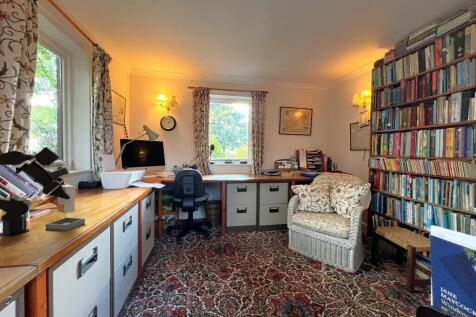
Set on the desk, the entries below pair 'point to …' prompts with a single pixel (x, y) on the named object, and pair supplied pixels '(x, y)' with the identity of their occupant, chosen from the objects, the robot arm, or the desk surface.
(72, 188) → the skincare box
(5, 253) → the desk surface
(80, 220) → the tray
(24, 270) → the desk surface
